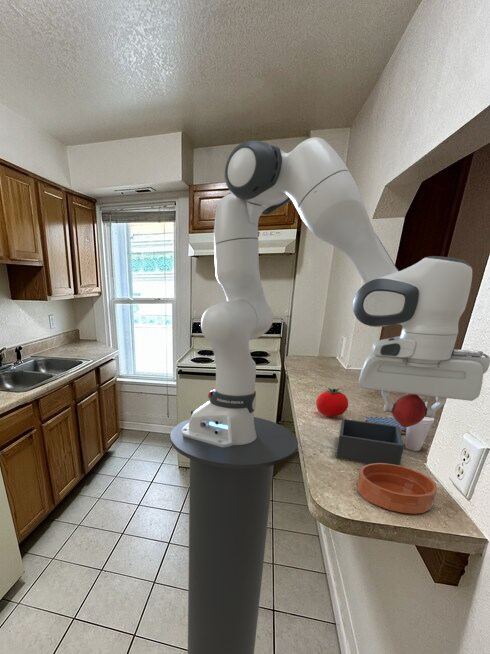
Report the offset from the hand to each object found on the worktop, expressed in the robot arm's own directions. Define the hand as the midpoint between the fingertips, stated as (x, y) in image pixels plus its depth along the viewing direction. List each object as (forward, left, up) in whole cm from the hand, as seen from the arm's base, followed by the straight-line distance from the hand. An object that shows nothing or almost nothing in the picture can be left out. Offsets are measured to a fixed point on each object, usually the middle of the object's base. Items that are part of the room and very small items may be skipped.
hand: (407, 413), depth 73 cm
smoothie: (+8, +30, -19) cm, 36 cm away
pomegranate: (0, 0, -3) cm, 3 cm away
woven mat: (+2, +44, -19) cm, 48 cm away
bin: (-4, +21, -19) cm, 28 cm away
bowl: (+1, -1, -19) cm, 19 cm away
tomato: (-15, +49, -19) cm, 54 cm away
